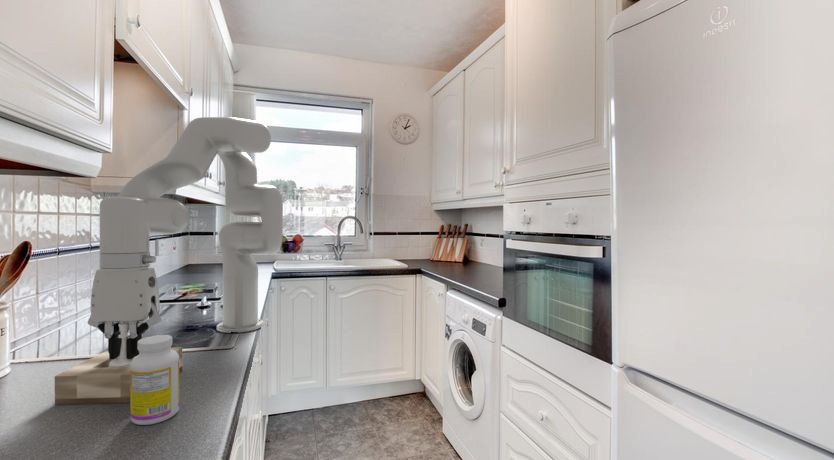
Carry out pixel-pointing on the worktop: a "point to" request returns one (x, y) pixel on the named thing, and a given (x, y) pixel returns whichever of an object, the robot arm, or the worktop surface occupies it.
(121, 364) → the chess piece
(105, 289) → the robot arm
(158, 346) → the supplement bottle
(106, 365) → the socket block
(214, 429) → the worktop surface
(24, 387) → the worktop surface
